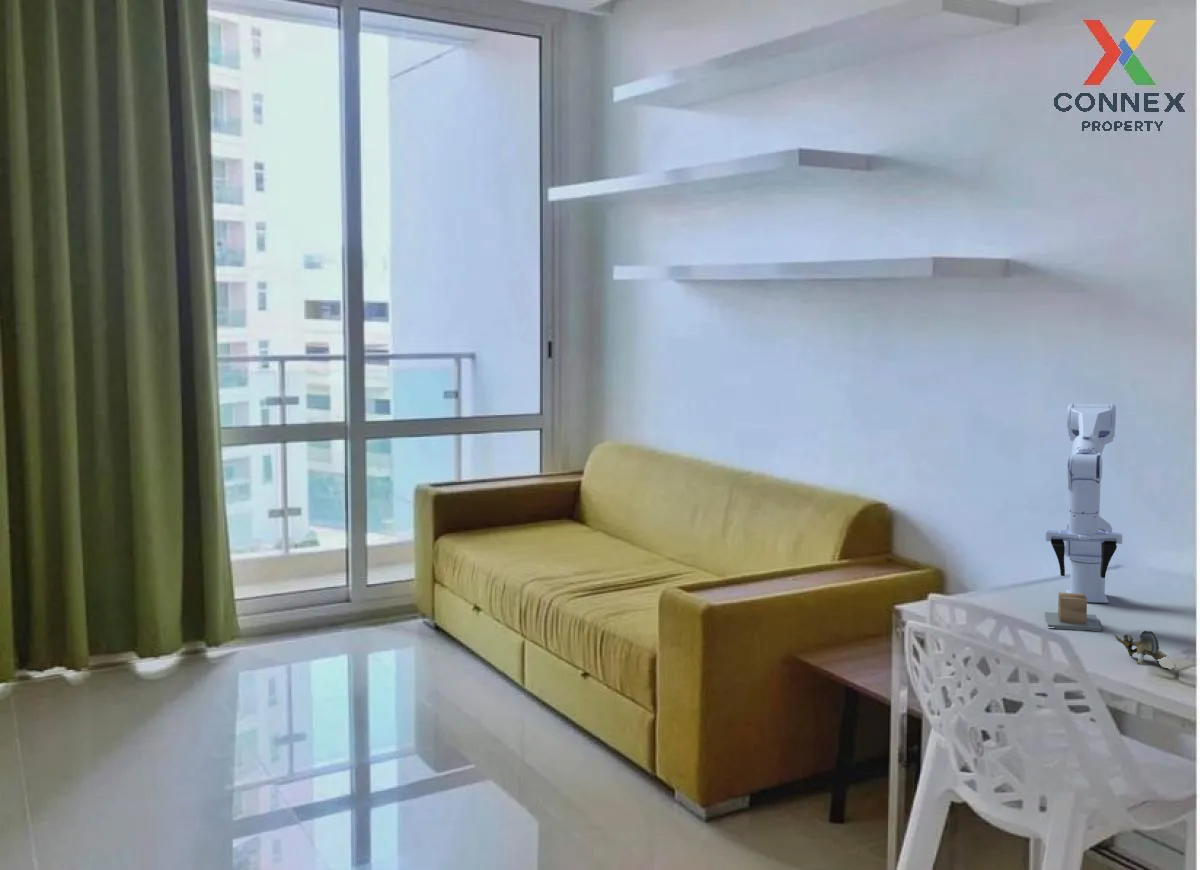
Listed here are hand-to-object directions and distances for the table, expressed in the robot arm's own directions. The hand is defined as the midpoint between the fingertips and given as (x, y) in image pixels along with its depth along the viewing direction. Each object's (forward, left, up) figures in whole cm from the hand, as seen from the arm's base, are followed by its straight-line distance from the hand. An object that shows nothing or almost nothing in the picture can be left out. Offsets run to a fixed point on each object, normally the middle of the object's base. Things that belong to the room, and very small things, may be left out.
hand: (1082, 575), depth 228 cm
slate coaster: (+2, -2, -10) cm, 10 cm away
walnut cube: (+2, -2, -9) cm, 9 cm away
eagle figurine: (+26, +9, -10) cm, 29 cm away
